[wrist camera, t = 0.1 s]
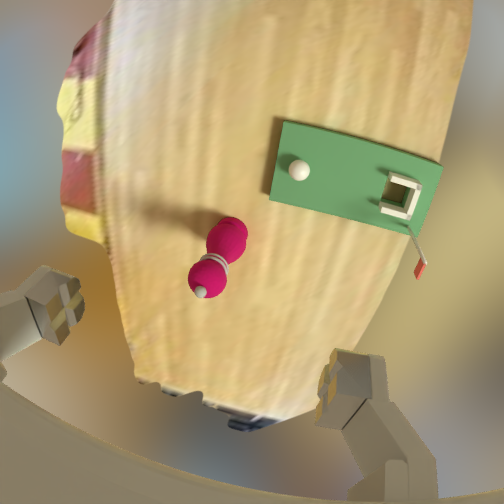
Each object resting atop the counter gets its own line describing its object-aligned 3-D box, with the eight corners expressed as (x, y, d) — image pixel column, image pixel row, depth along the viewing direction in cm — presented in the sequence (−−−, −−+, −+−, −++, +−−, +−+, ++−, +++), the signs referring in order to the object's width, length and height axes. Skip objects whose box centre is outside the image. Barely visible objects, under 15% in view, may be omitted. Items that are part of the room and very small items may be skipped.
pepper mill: (224, 207, 61) (185, 266, 44) (257, 227, 62) (231, 292, 45) (208, 235, 65) (169, 298, 48) (239, 253, 65) (210, 321, 49)
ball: (291, 155, 51) (290, 160, 48) (312, 160, 51) (311, 165, 48) (287, 174, 53) (285, 180, 50) (307, 179, 53) (306, 185, 50)
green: (284, 120, 50) (273, 134, 38) (439, 164, 48) (471, 192, 36) (269, 203, 59) (254, 240, 47) (411, 239, 56) (430, 282, 44)
